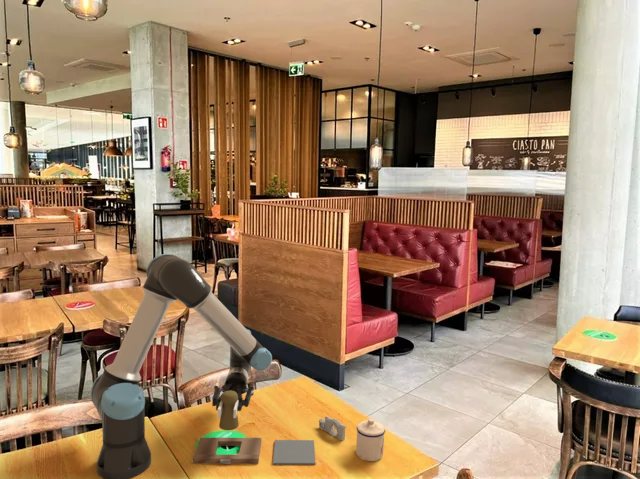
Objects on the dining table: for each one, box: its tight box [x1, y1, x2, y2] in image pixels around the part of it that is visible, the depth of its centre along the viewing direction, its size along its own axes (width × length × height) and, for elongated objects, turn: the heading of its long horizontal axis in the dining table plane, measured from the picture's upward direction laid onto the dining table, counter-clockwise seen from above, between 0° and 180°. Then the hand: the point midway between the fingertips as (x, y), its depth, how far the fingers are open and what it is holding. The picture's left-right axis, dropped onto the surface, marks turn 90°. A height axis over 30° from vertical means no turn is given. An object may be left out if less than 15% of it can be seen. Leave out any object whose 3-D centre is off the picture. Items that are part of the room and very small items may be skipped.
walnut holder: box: [192, 436, 262, 465], centre depth 152 cm, size 20×13×2 cm, turn 93°
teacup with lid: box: [355, 418, 386, 462], centre depth 155 cm, size 12×9×12 cm
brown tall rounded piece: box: [218, 391, 239, 431], centre depth 151 cm, size 6×6×11 cm
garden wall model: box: [318, 415, 347, 442], centre depth 166 cm, size 12×2×6 cm, turn 43°
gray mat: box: [272, 439, 316, 466], centre depth 153 cm, size 13×13×1 cm
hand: (226, 413), depth 145 cm, fingers closed on brown tall rounded piece, 4 cm apart
